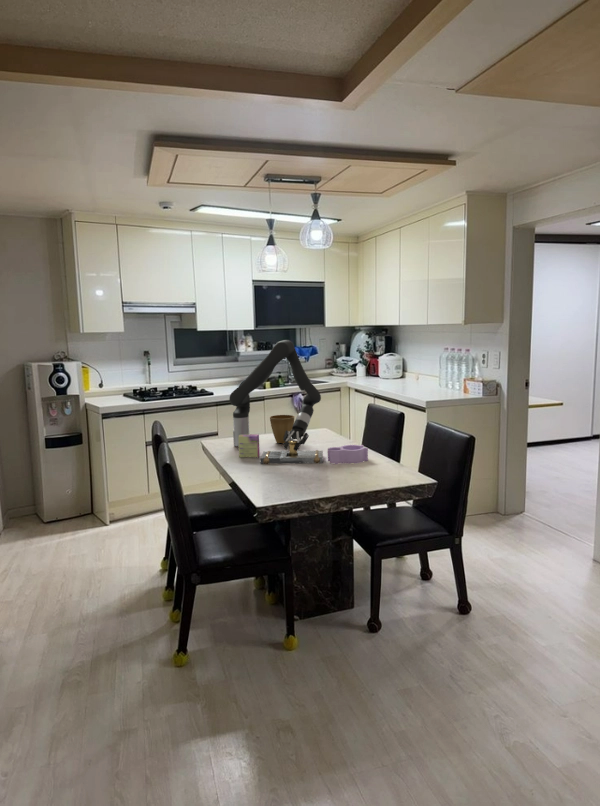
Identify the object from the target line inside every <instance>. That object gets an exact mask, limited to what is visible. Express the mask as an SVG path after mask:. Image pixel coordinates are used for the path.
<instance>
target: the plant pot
mask: <svg viewBox="0 0 600 806" xmlns="http://www.w3.org/2000/svg"><path fill="white" fill-rule="evenodd" d="M269 420H270V427H271V430H272V434H273V436H274V440H275V442H276V444H278V443H285V441H284V440H283V438H284V435H285V431H291V430H292V427H293V424H294V422H295V415H292V414H276V415H272V416H269ZM289 440H290V439H289ZM289 440H288V441H289Z"/></svg>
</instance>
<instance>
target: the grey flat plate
mask: <svg viewBox="0 0 600 806" xmlns="http://www.w3.org/2000/svg"><path fill="white" fill-rule="evenodd" d="M323 452H324V451H323V450H318V449H316V450H297V456H289V450H280V451H279V450H276V451H274V450H273V451H271V450H267V451H263V452H262V454H261V457H260V465H269V464H268V463H295V464H323V463H324V456H323V455H324V453H323ZM263 463H264V464H263Z"/></svg>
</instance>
